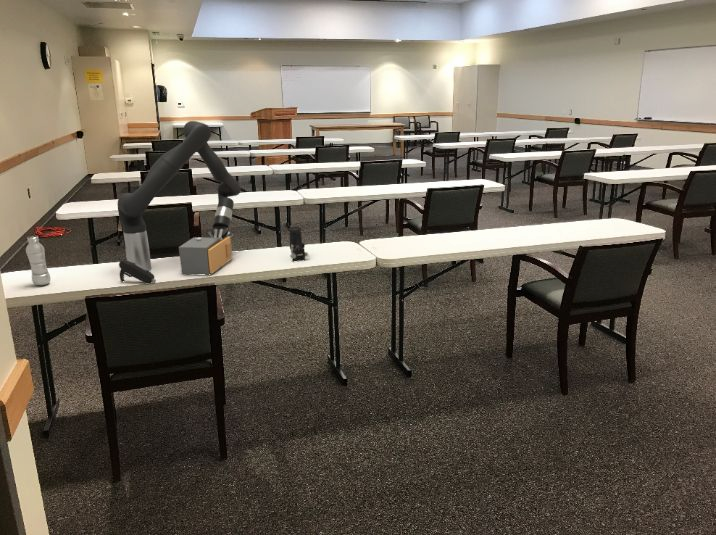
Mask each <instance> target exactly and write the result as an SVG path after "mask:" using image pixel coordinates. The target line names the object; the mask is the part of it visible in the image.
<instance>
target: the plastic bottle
mask: <svg viewBox="0 0 716 535" xmlns="http://www.w3.org/2000/svg"><path fill="white" fill-rule="evenodd" d="M39 241H40V239H39V236H38V235H30V236H29V235H28V236H27V243H28V244H27V246H26V247H25V253H26V256H27V258H28V261H29V264H30V269H31V270H30V271H31V281H32V284H34V286H46V285H48V284H50V282H51V274H50V273H49V271H48V267H47V263H46V256H45V255H46V253H45V252H46V251H45V247H44V246H43V245H42V243H40V242H39Z"/></svg>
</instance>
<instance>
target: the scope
mask: <svg viewBox="0 0 716 535" xmlns="http://www.w3.org/2000/svg"><path fill="white" fill-rule="evenodd" d="M288 229H289V230H288V231H289V250H290V255H289V257H290V258H291V261H292V262H294V261H297V260H300V261H303V260H304V261H306V257H307V256H308V255H309V252H307V251H305V247H306V246H305V243H304V242H303V241H302V240H303V239H302V227H301V226H291V227H289V228H288ZM297 262H298V261H297ZM294 263H295V262H294Z"/></svg>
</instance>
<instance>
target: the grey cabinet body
mask: <svg viewBox="0 0 716 535" xmlns="http://www.w3.org/2000/svg"><path fill="white" fill-rule="evenodd" d="M219 242H220V238H214V237H211V238H208V237H202V236H201V237H200V236H199V237H196V236H195V237H194V236H193V237H192V238H190V239H188V240H187V241H186V242H184V243H183V244H182V245H180V246H178V254H179V263H180V271H181V275H182V274H205V275H204V276H210V275H211V274H212V273H210V268H209V258H208V250H209V249H210V248H212V247H213V246H215V245H216V244H218V243H219ZM209 274H210V275H209Z"/></svg>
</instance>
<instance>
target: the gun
mask: <svg viewBox="0 0 716 535" xmlns="http://www.w3.org/2000/svg"><path fill="white" fill-rule="evenodd" d="M118 266H119V268H120V271H119V279H120V281H121V282H122V283H124V282H125V276H127V277H129V278H131V277H133V278H134V279H136V280H138V281H140V282H142V283H144V284H145V283H151V282H152V283H155V282H156V281H157V280H156V278H155V275H154V274H153V273H152V272H151V270H149V271H148V270H147V269H145V268H143V267H141V266H140V265H138V264H135V263H132V262H129V261H127V259H122V260H119V262H118ZM123 281H124V282H123ZM152 283H151V284H152Z"/></svg>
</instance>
